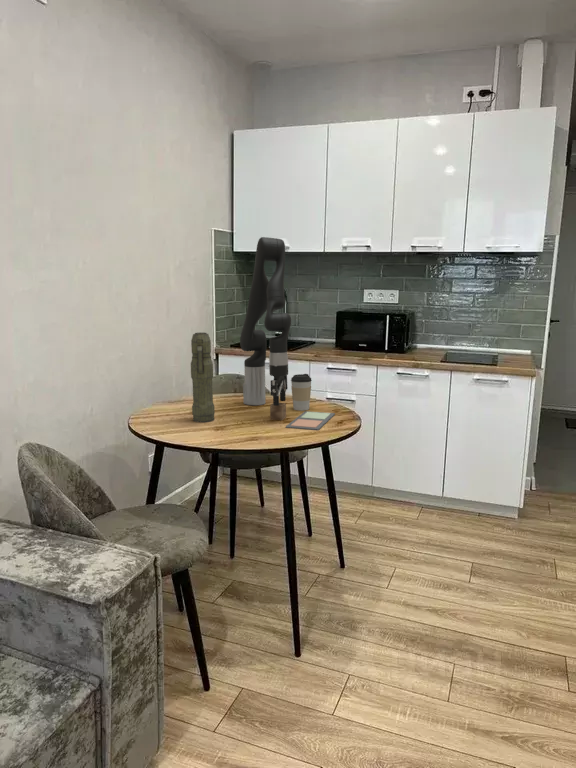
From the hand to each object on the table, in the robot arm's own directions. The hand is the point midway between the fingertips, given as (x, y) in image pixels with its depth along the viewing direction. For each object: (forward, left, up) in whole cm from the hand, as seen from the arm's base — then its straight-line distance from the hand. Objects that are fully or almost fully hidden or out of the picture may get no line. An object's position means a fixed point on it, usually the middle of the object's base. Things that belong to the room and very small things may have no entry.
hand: (279, 403), depth 232 cm
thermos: (-29, -11, -7) cm, 31 cm away
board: (+13, 0, -6) cm, 15 cm away
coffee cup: (+3, +19, -7) cm, 20 cm away
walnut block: (-1, 0, -6) cm, 6 cm away
